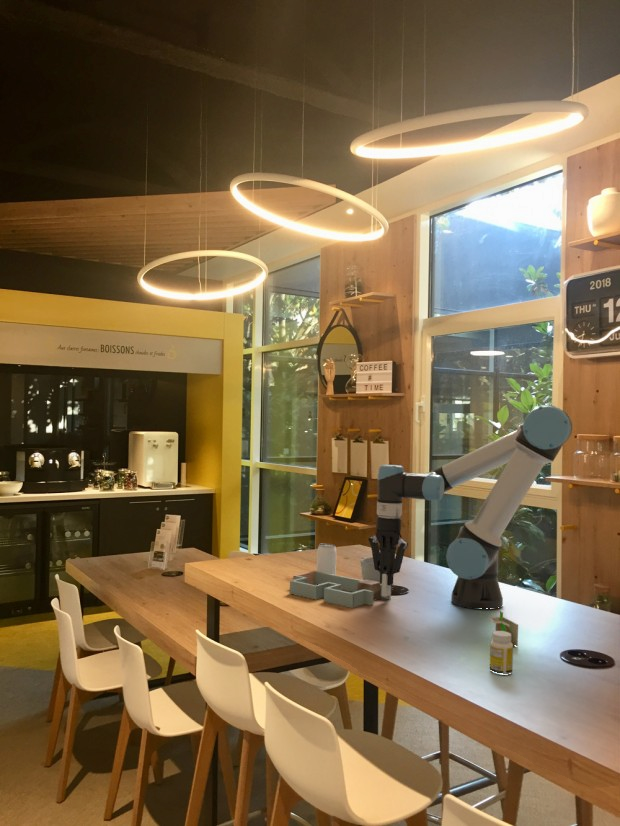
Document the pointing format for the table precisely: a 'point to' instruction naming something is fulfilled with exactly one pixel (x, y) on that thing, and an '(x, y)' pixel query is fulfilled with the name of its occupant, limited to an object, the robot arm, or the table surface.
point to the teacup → (369, 570)
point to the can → (326, 558)
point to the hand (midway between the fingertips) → (385, 595)
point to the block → (370, 587)
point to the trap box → (332, 589)
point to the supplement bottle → (501, 652)
